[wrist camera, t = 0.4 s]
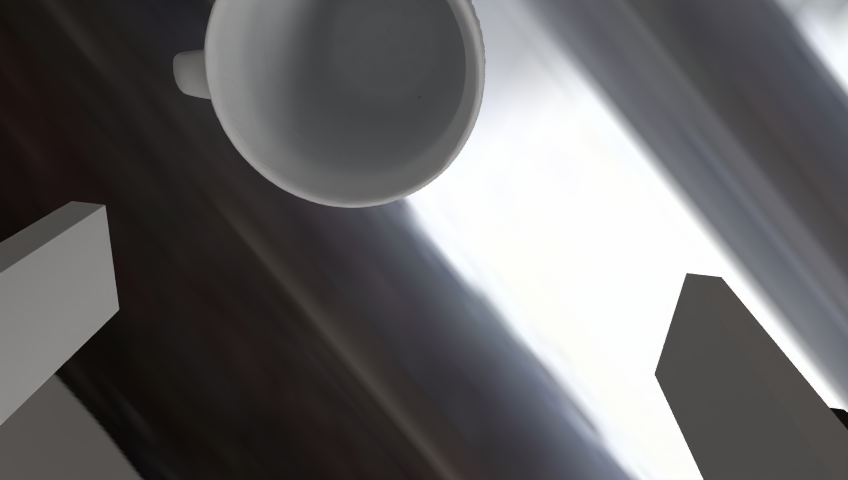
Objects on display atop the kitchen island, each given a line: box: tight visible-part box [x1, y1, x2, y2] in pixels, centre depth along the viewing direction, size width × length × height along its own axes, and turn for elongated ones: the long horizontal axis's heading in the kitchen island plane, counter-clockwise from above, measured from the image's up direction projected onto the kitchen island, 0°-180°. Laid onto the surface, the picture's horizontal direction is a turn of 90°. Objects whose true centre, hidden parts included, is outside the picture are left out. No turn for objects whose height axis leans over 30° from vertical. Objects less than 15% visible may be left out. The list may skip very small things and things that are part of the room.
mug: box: [173, 0, 486, 208], centre depth 29 cm, size 15×11×13 cm
